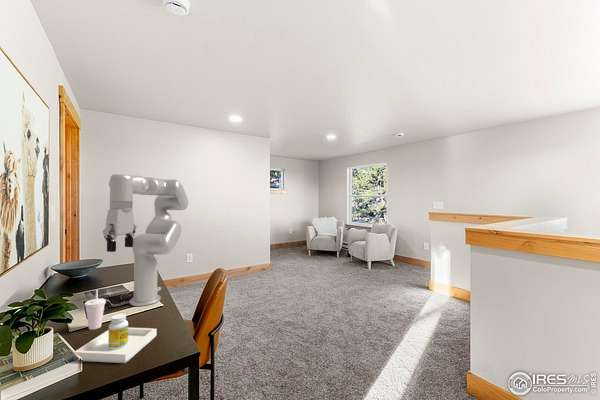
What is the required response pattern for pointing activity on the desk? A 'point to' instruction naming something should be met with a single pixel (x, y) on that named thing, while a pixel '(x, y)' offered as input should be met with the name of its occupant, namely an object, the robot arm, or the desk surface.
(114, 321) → the supplement bottle
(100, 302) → the smoothie
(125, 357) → the tray
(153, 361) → the desk surface
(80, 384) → the desk surface
